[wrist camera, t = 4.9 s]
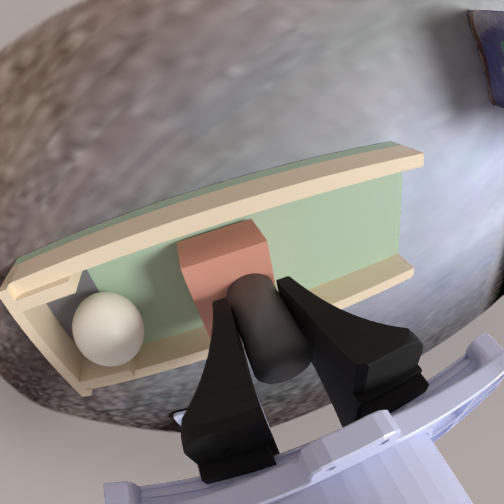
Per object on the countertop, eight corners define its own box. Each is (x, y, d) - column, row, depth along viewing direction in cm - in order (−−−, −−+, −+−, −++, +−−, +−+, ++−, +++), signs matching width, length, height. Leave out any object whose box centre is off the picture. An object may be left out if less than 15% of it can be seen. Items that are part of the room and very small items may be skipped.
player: (267, 293, 19) (317, 385, 13) (205, 315, 18) (233, 415, 12) (251, 218, 16) (311, 305, 10) (176, 242, 15) (194, 346, 9)
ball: (112, 326, 18) (165, 328, 17) (85, 375, 14) (141, 385, 13) (82, 277, 15) (137, 274, 15) (46, 327, 12) (101, 333, 11)
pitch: (389, 255, 22) (417, 280, 19) (86, 358, 19) (82, 396, 16) (391, 141, 17) (429, 155, 14) (17, 258, 14) (-4, 293, 11)
